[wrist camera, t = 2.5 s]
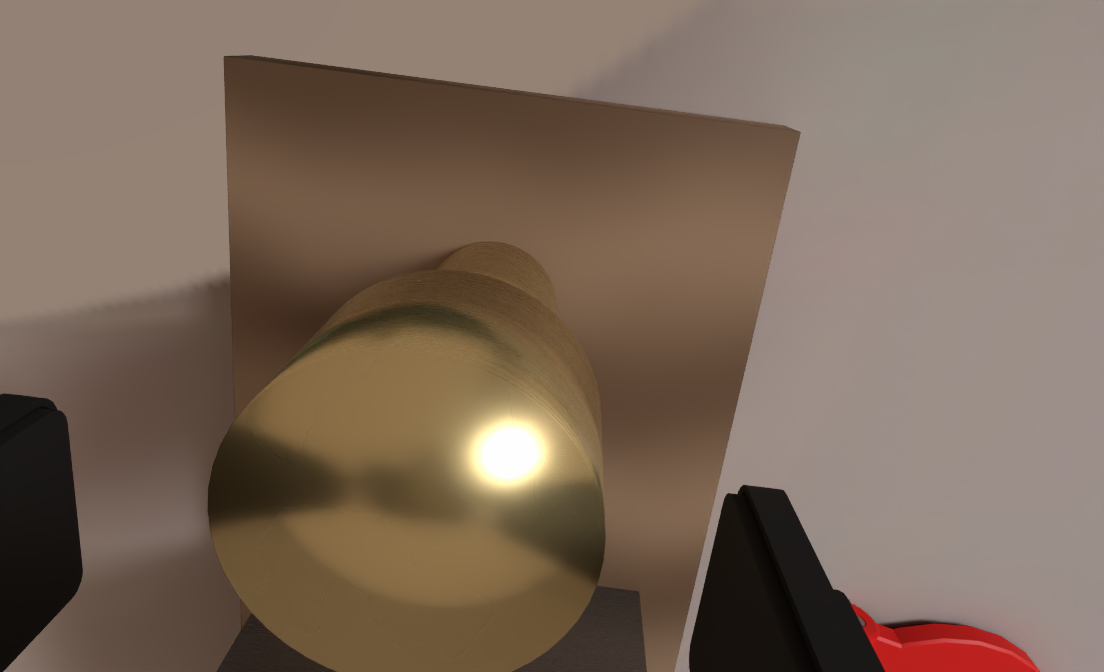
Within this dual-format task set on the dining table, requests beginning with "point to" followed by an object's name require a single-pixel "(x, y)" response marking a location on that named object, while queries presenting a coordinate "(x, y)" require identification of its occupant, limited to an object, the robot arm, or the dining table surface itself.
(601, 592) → the hitch block
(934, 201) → the dining table surface
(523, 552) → the brass pin
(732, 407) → the mount plate
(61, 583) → the robot arm
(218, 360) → the dining table surface
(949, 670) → the tow hook
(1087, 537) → the dining table surface
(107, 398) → the dining table surface
